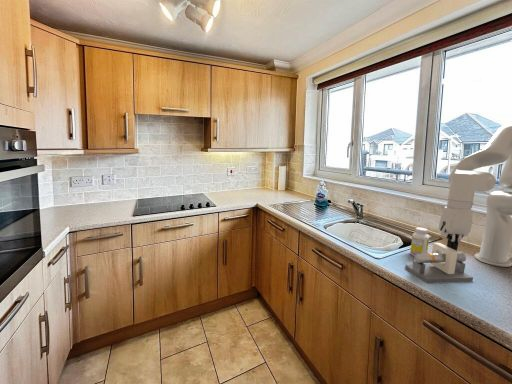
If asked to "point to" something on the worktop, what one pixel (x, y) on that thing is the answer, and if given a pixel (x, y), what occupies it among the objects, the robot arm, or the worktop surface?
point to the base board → (439, 275)
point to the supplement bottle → (419, 241)
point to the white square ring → (450, 258)
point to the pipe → (436, 261)
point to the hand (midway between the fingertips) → (451, 250)
